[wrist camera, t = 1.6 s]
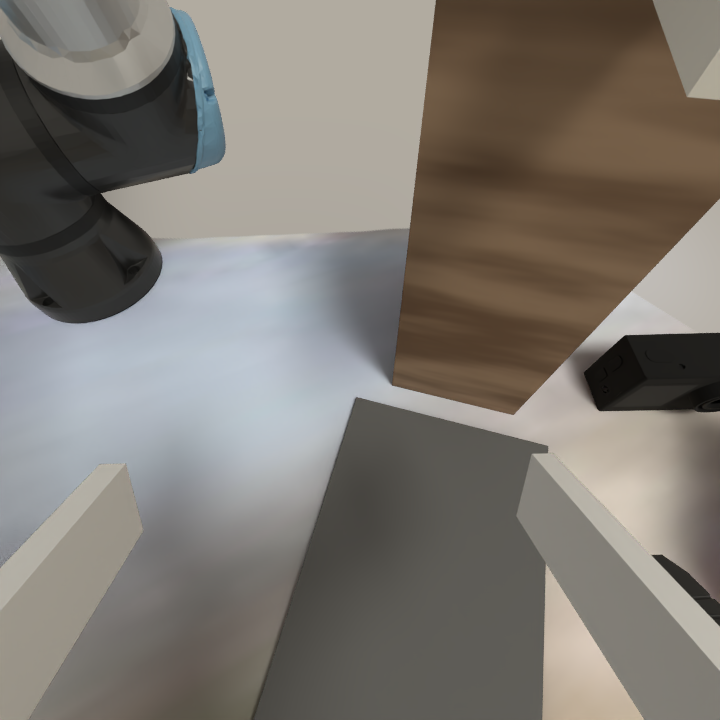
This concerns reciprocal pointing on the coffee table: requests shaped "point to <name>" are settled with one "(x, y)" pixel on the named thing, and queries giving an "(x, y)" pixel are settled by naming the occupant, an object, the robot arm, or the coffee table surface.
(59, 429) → the coffee table surface
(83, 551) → the robot arm
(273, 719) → the mat
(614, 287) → the plinth
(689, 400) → the digital camera
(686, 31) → the off-white matte box
